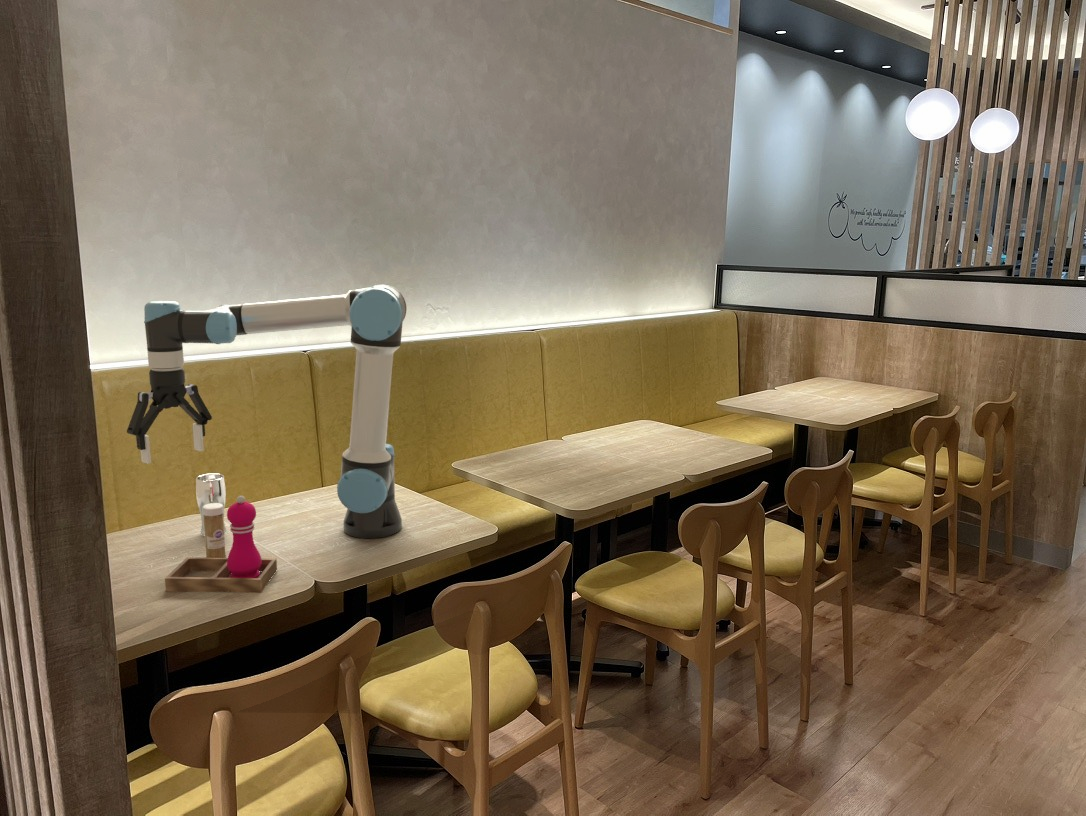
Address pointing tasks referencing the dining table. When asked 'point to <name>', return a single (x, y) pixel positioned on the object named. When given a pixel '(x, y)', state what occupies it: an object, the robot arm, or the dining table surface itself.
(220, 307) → the robot arm
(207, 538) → the sprinkles bottle
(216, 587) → the caddy
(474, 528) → the dining table surface
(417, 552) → the dining table surface
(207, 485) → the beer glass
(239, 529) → the pepper mill
